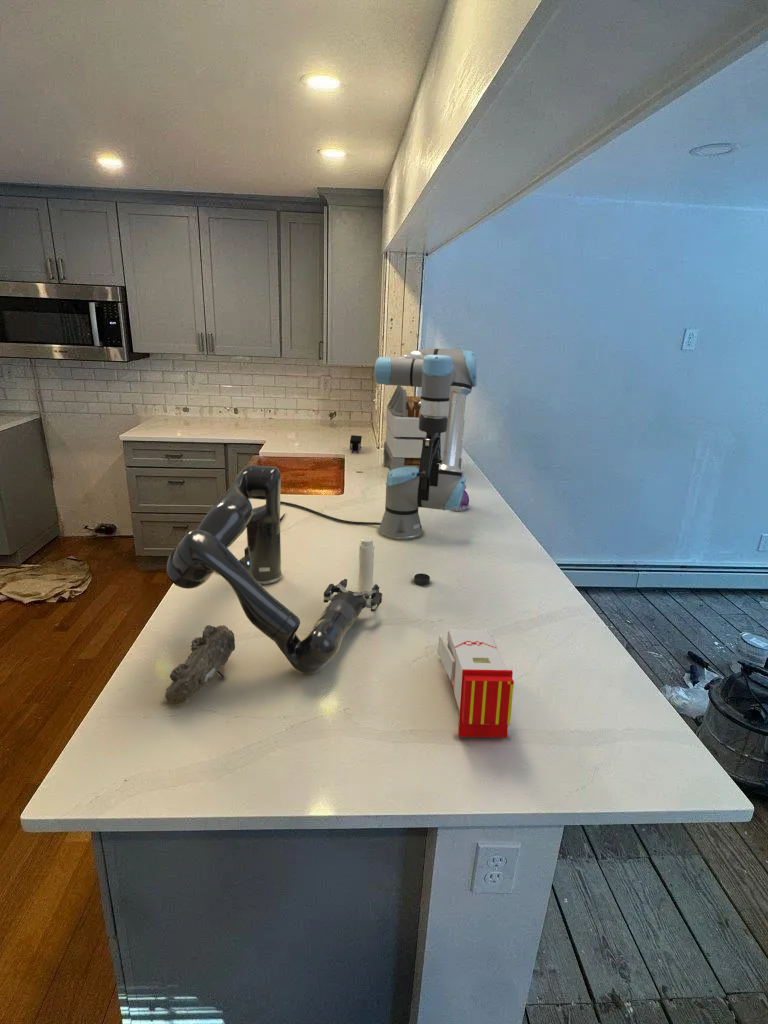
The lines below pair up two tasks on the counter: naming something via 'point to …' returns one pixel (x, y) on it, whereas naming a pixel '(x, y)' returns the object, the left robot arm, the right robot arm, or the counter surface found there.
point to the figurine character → (355, 443)
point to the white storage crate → (404, 431)
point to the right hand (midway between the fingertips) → (428, 492)
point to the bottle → (366, 565)
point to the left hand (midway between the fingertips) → (361, 584)
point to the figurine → (463, 499)
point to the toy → (478, 682)
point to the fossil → (201, 663)
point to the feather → (281, 518)
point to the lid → (421, 579)
